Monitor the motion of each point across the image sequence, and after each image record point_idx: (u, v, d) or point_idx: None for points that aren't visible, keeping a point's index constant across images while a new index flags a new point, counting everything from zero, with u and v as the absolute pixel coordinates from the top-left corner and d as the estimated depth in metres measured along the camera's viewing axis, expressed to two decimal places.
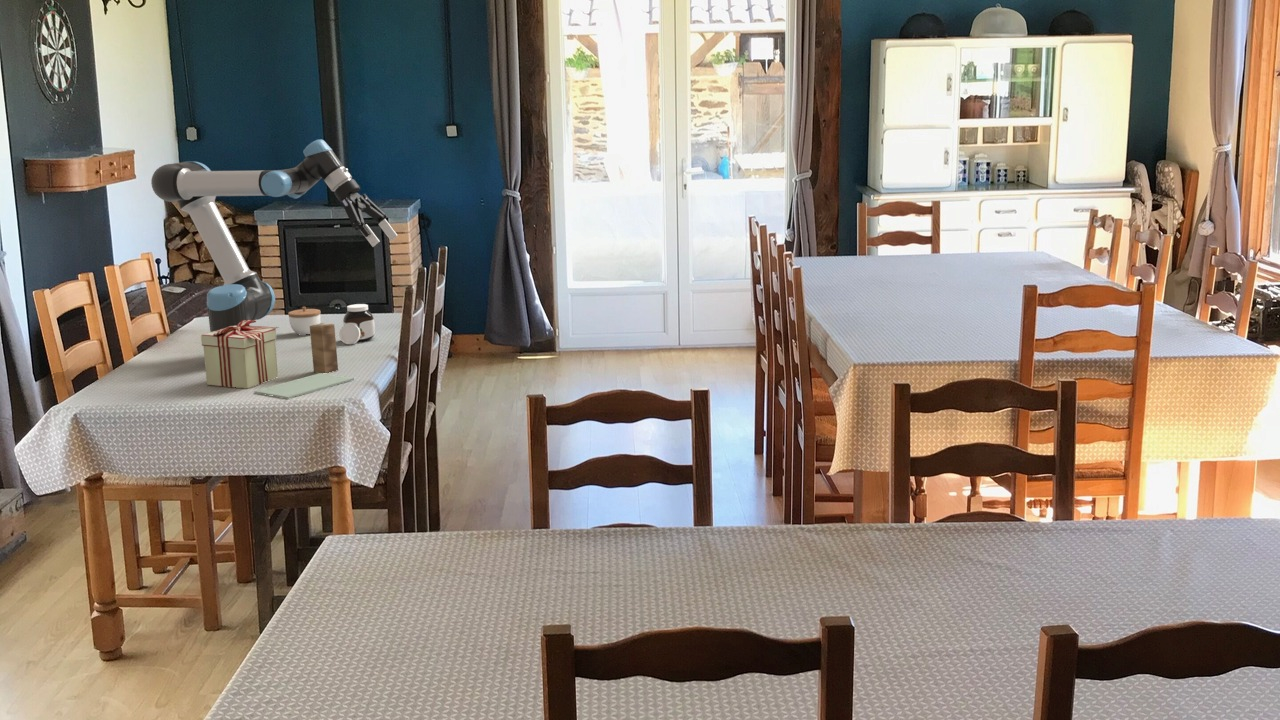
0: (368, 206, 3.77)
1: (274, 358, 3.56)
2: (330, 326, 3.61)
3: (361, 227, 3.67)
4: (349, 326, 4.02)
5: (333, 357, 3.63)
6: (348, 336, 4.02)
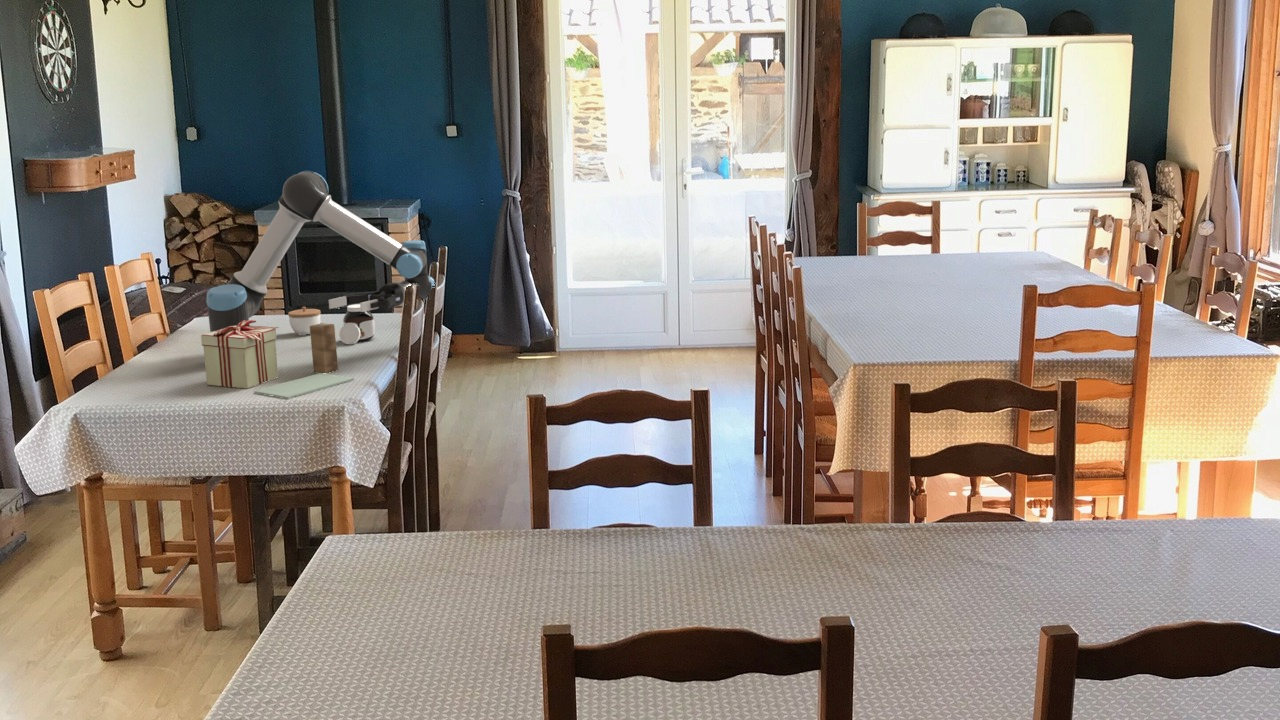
0: None
1: (274, 358, 3.56)
2: (330, 326, 3.61)
3: (380, 304, 3.69)
4: (349, 326, 4.02)
5: (333, 357, 3.63)
6: (348, 336, 4.02)
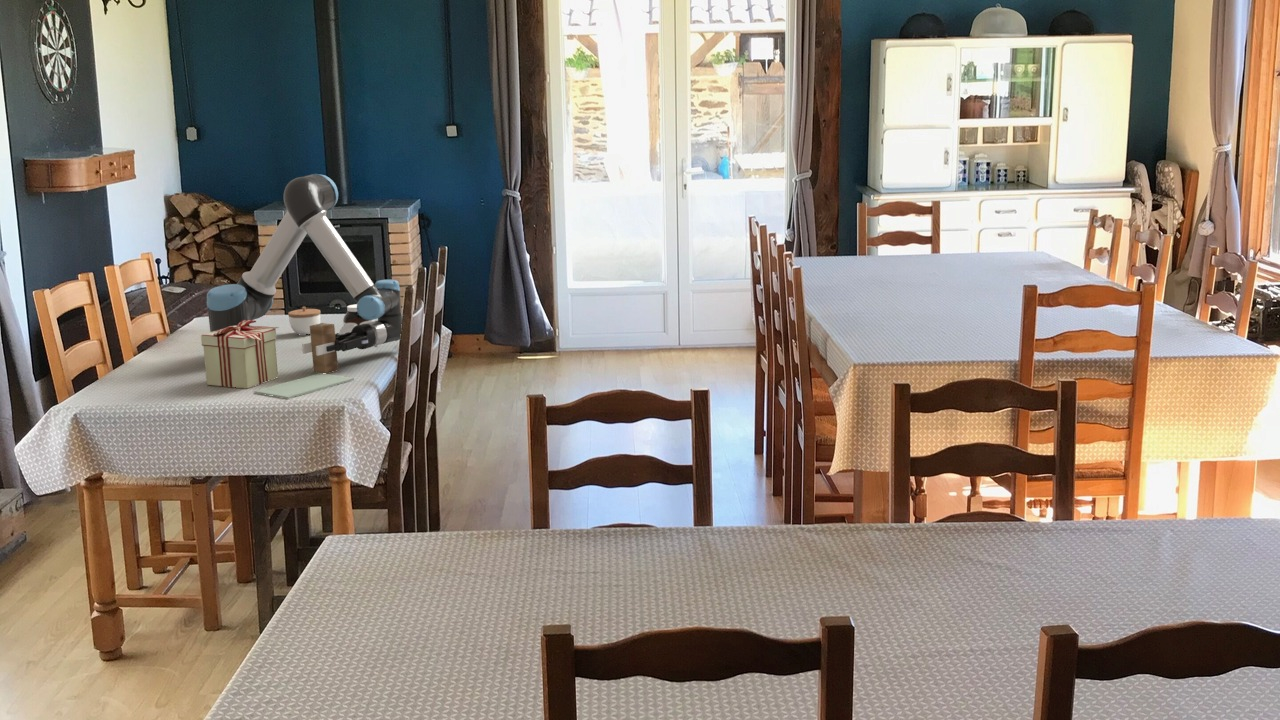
0: None
1: (274, 358, 3.56)
2: (330, 326, 3.61)
3: (337, 347, 3.61)
4: (349, 326, 4.02)
5: (333, 357, 3.63)
6: None
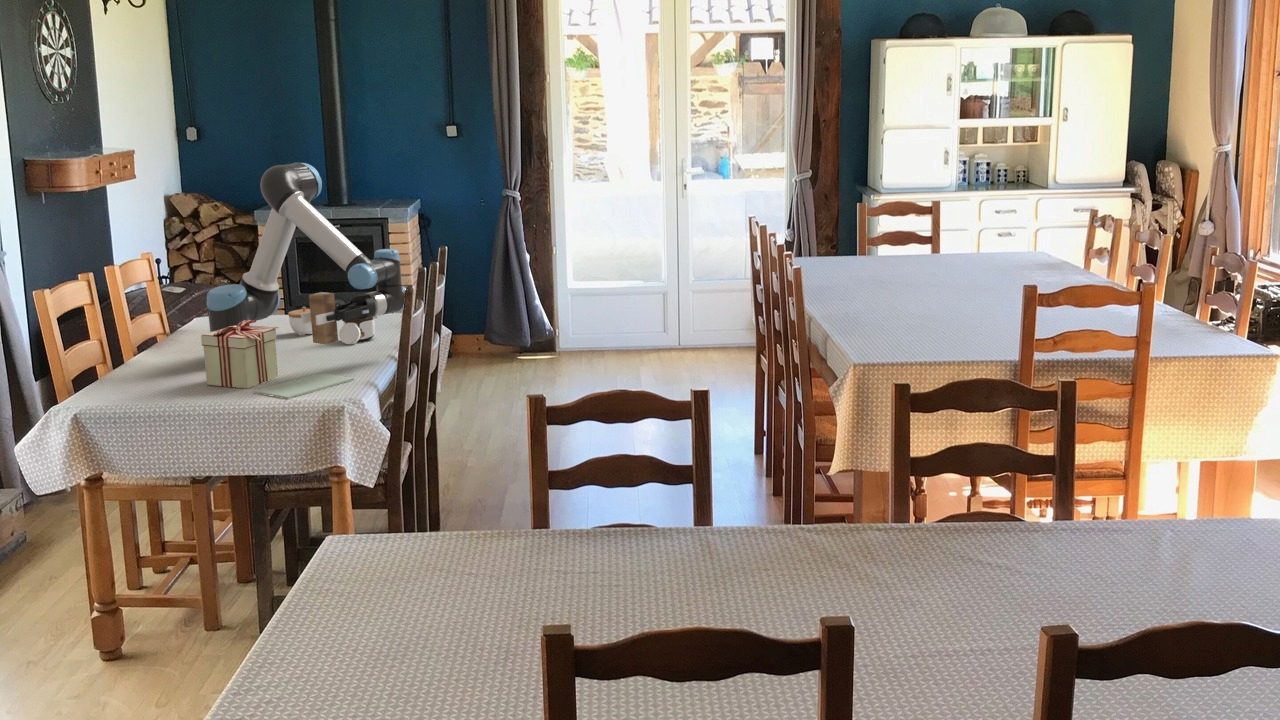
0: None
1: (274, 358, 3.56)
2: (330, 295, 3.51)
3: (337, 317, 3.51)
4: (349, 326, 4.02)
5: (333, 327, 3.53)
6: (348, 336, 4.02)
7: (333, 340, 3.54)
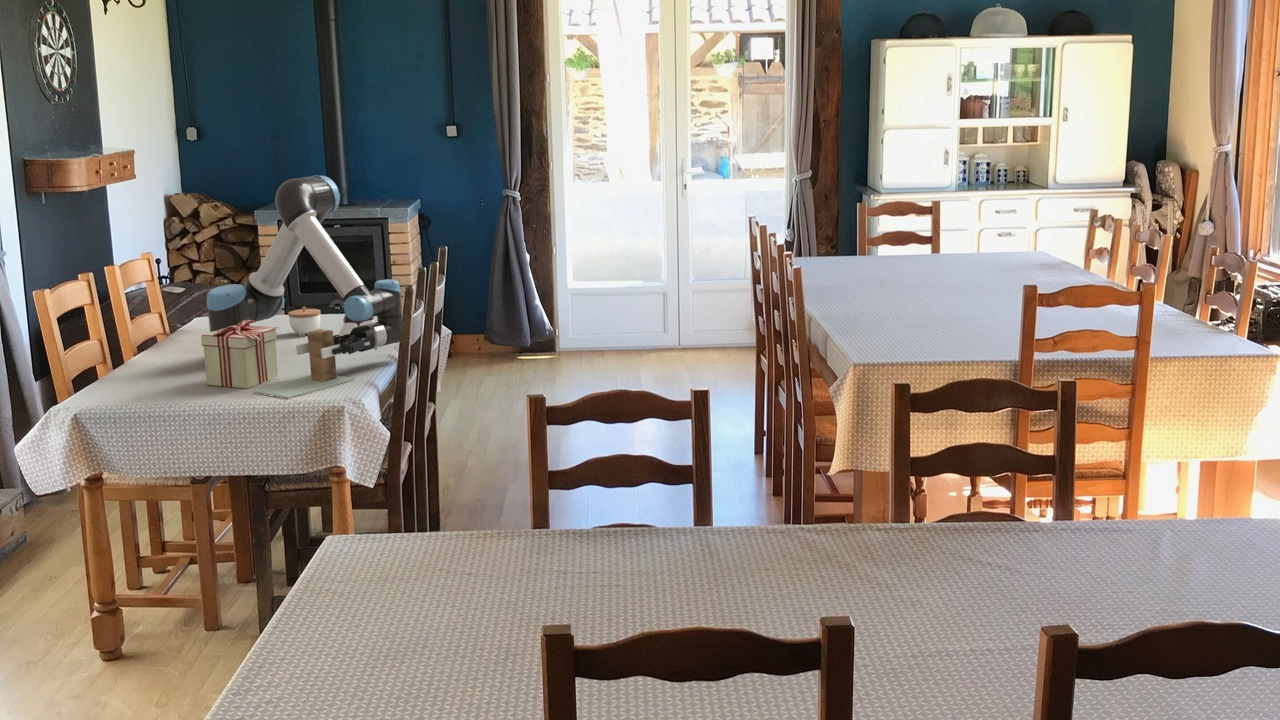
0: None
1: (274, 358, 3.56)
2: (328, 332, 3.49)
3: (343, 350, 3.48)
4: (349, 326, 4.02)
5: (332, 364, 3.51)
6: None
7: (331, 377, 3.51)
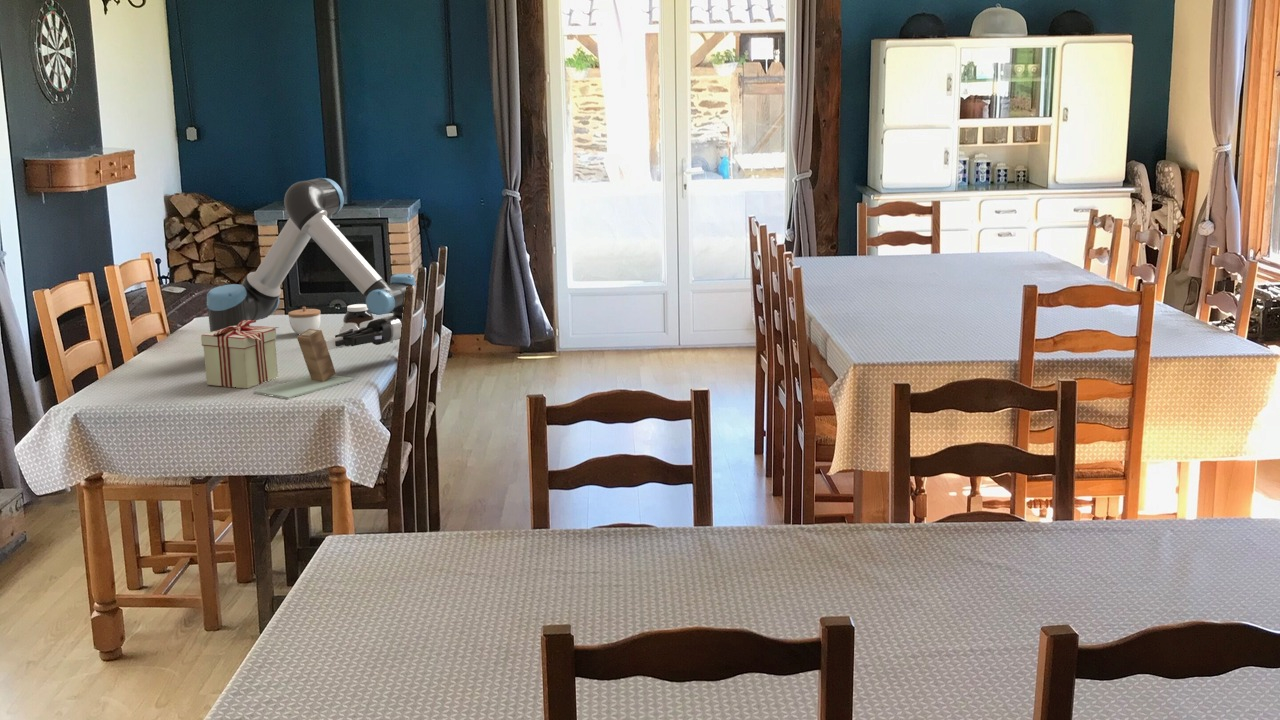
0: None
1: (274, 358, 3.56)
2: (318, 333, 3.45)
3: (346, 342, 3.54)
4: (349, 326, 4.02)
5: (328, 362, 3.50)
6: None
7: (330, 375, 3.51)
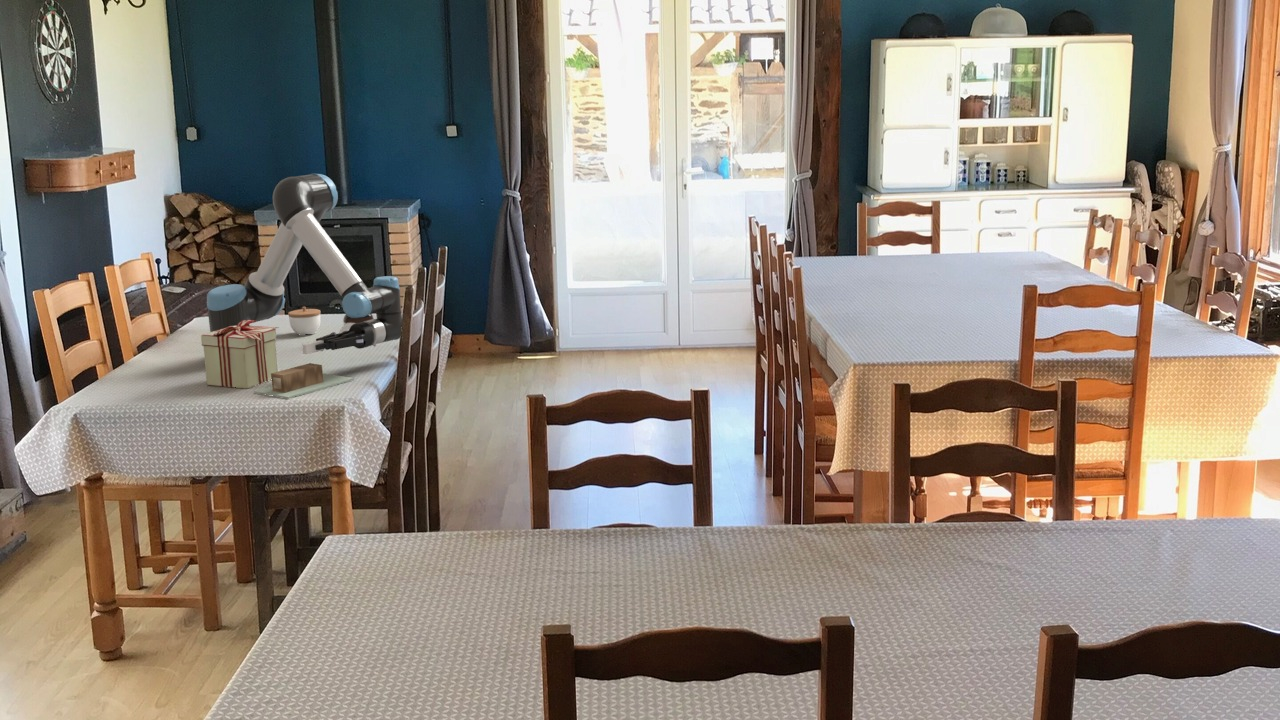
0: None
1: (274, 358, 3.56)
2: (284, 380, 3.37)
3: (326, 346, 3.49)
4: (349, 326, 4.02)
5: (310, 372, 3.44)
6: None
7: (321, 371, 3.48)
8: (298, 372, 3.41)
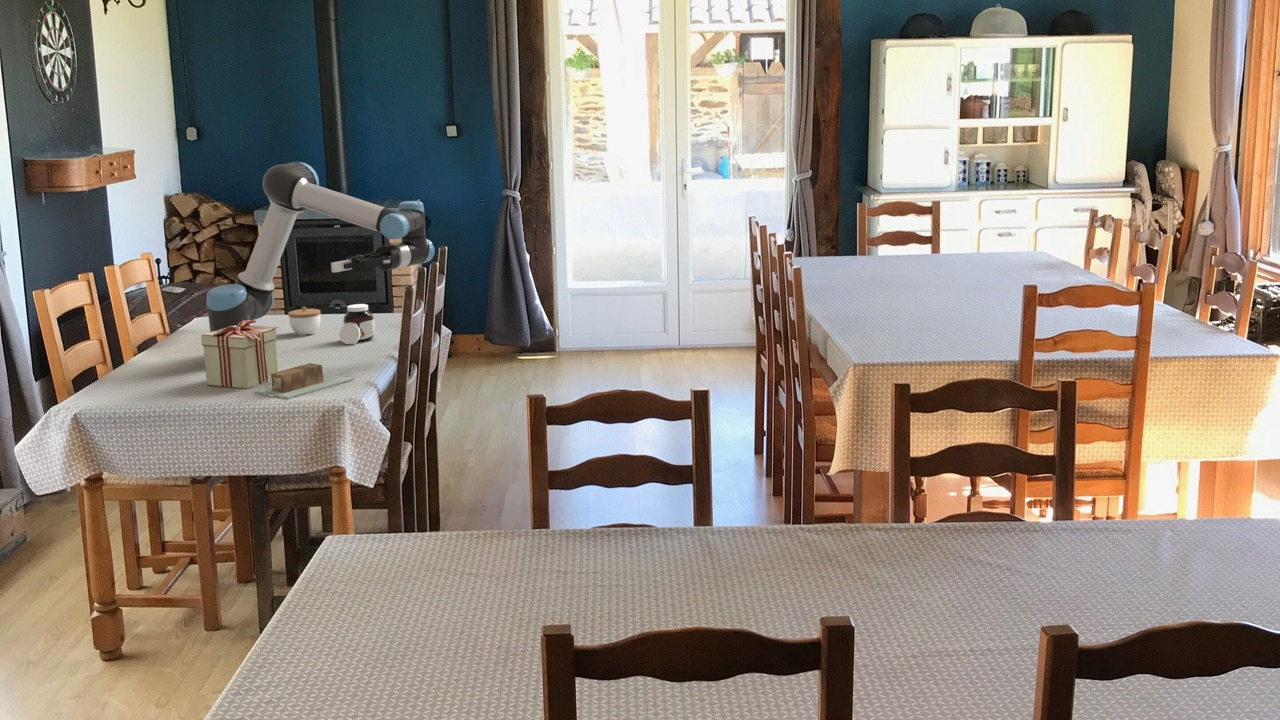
0: None
1: (274, 357, 3.56)
2: (284, 380, 3.37)
3: (354, 265, 3.55)
4: (349, 326, 4.02)
5: (310, 372, 3.44)
6: (348, 336, 4.02)
7: (321, 371, 3.48)
8: (298, 372, 3.41)
